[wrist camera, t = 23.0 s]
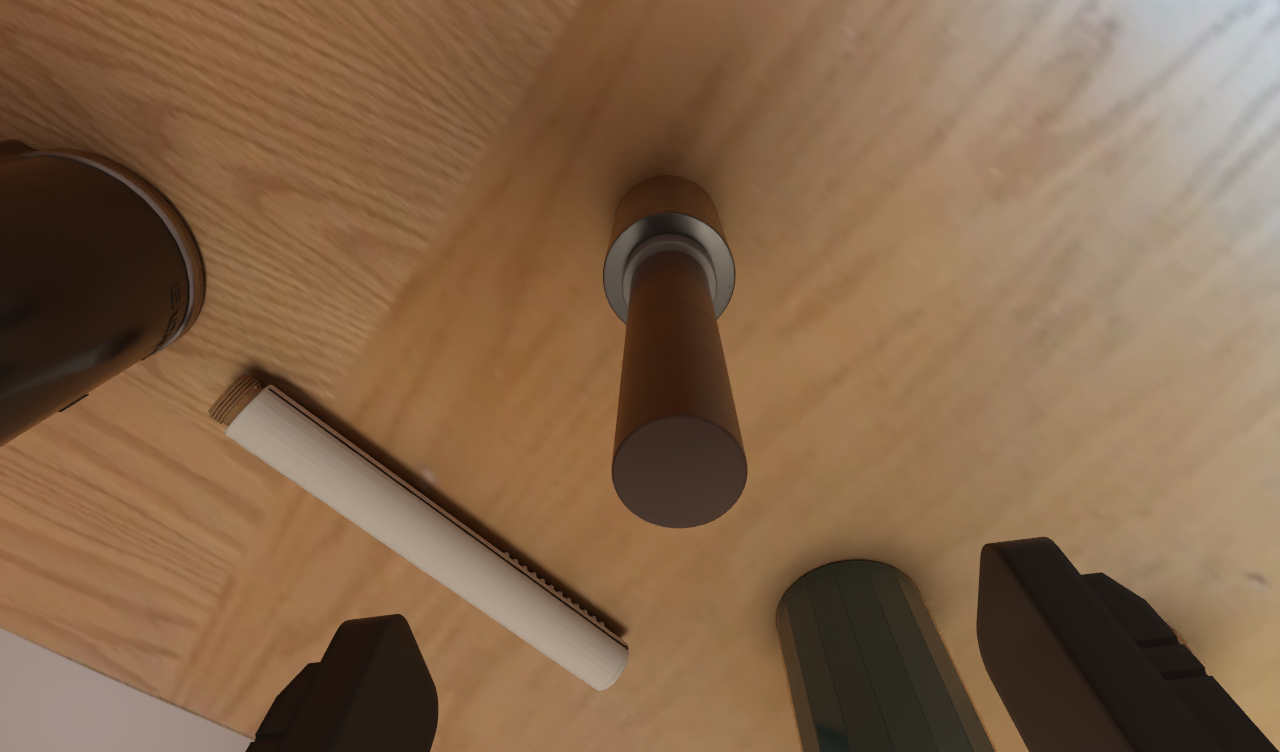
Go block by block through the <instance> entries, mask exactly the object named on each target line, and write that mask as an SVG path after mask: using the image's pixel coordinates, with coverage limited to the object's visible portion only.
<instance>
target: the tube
mask: <svg viewBox="0 0 1280 752" xmlns="http://www.w3.org/2000/svg"><path fill="white" fill-rule="evenodd" d="M260 385H261V384H260V383H258V381H255V379H252V377H251V376H250V377H246V376H245V375H243V376H241V377H240V378H238V379H237V380H236V381H235V382H234V383H233V384H232V385H231V386H230V387H229V388H228V389H227V390H226V391H225V392H224V393H223V394H222V395H221V396H220V397H219V398H218V399H217V400H216V401H215V403H214V404H213V405H212V406H211V408H210V409H209V411H208V412H209V413H210V416H209V417H213V419H214V420H215V419H216V421H217V422H219V423H220V424H222V423H225V424H226V425H228V426H229V427H228V428H227V429H226V431H225V434H226V435H227V436H228V437H230V438H231V439H232V440H234V441H235V442H237V443H238V444H240V445H241V446H243V447H244V448H246V449H247V450H248V451H250V452H251V453H253V454H254V455H256V456H257V457H259V458H260V459H262V460H263V461H264V462H266V463H267V464H269V465H270V466H272V467H273V468H275V469H276V470H278V471H279V472H280V473H282V474H283V475H285V476H286V477H288V478H289V479H291V480H292V481H294V482H295V483H296V484H298V485H299V486H301V487H302V488H304V489H305V490H307V491H308V492H309V493H311V494H312V495H314V496H315V497H317V498H318V499H320V500H321V501H323V502H324V503H325V504H327V505H328V506H330V507H331V508H333V509H334V510H336V511H337V512H339V513H340V514H341V515H343V516H344V517H346V518H347V519H349V520H350V521H352V522H353V523H355V524H356V525H357V526H359V527H360V528H362V529H363V530H365V531H366V532H368V533H369V534H370V535H372V536H373V537H375V538H376V539H378V540H379V541H381V542H382V543H384V544H385V545H386V546H388V547H389V548H391V549H392V550H394V551H395V552H397V553H398V554H400V555H401V556H402V557H404V558H405V559H407V560H408V561H410V562H411V563H413V564H414V565H416V566H417V567H418V568H420V569H421V570H423V571H424V572H426V573H427V574H429V575H430V576H431V577H433V578H434V579H436V580H437V581H439V582H440V583H442V584H443V585H445V586H446V587H447V588H449V589H450V590H452V591H453V592H455V593H456V594H458V595H459V596H461V597H462V598H463V599H465V600H466V601H468V602H469V603H471V604H472V605H474V606H475V607H477V608H478V609H479V610H481V611H482V612H484V613H485V614H487V615H488V616H490V617H491V618H493V619H494V620H495V621H497V622H498V623H500V624H501V625H503V626H504V627H506V628H507V629H508V630H510V631H511V632H513V633H514V634H516V635H517V636H519V637H520V638H522V639H523V640H524V641H526V642H527V643H529V644H530V645H532V646H533V647H535V648H536V649H538V650H539V651H540V652H542V653H543V654H545V655H546V656H548V657H549V658H551V659H552V660H554V661H555V662H556V663H558V664H559V665H561V666H562V667H564V668H565V669H567V670H568V671H569V672H571V673H572V674H574V675H575V676H577V677H578V678H580V679H581V680H583V681H584V682H585V683H587V684H588V685H590V686H591V687H593V688H594V689H596V690H598V691H602V690H605V689H607V688H608V687H610V686H611V685H612V684H614V683H615V682H616V681H617V679H618V678H619V677H620V675H621V674H622V672H623V670H624V668H625V666H626V663H627V660H628V654H629V650H628V645H627V643H626V642H624V641H623V640H622V639H620V638H619V637H618V636H616V635H615V634H614V633H612V632H611V631H609V630H608V629H607V628H605V627H604V623H603V622H599V623H598V622H597V621H596V617H595V616H591V617H590V616H589V615H587V614H588V612H587V610H581V609H579V605H578V604H572V603H571V599H570V598H564V597H563V596H562V595H563V593H562V592H560V591H558V592H556V591H555V590H553V589H554V587H553V585H546V584H545V580H544V579H542V578H541V579H538V578H537V577H536V573H535V572H531V573H530V572H528V571H527V566H520V565H519V564H518V560H517V559H513V560H512V559H511V558H509V553H507V552H504V553H502V552H501V551H500V550H498V549H497V548H495V547H494V546H493V545H491V544H490V543H489V542H487V541H486V540H484V539H483V538H482V537H480V536H479V535H478V534H476V533H475V532H473V531H472V530H471V529H469V528H468V527H467V526H465V525H464V524H463V523H461V522H460V521H458V520H457V519H456V518H454V517H453V516H452V515H450V514H449V513H447V512H446V511H445V510H443V509H442V508H441V507H439V506H438V505H436V504H435V503H434V502H432V501H431V500H430V499H428V498H427V497H425V496H424V495H423V494H421V493H420V492H419V491H417V490H416V489H414V488H413V487H412V486H410V485H409V484H408V483H406V482H405V481H403V480H402V479H401V478H399V477H398V476H397V475H395V474H394V473H392V472H391V471H390V470H388V469H387V468H386V467H384V466H383V465H381V464H380V463H379V462H377V461H376V460H375V459H373V458H372V457H370V456H369V455H368V454H366V453H365V452H364V451H362V450H361V449H360V448H358V447H357V446H355V445H354V444H353V443H351V442H350V441H349V440H347V439H346V438H344V437H343V436H342V435H340V434H339V433H338V432H336V431H335V430H333V429H332V428H331V427H329V426H328V425H327V424H325V423H324V422H322V421H321V420H320V419H318V418H317V417H316V416H314V415H313V414H311V413H310V412H309V411H307V410H306V409H305V408H303V407H302V406H300V405H299V404H298V403H296V402H295V401H294V400H292V399H291V398H289V397H288V396H287V395H285V394H284V393H283V392H281V391H280V390H278V389H277V388H276V387H274V386H273V385H268V386H267V387H266V388H264V389H263V388H262V387H260Z"/></svg>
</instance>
